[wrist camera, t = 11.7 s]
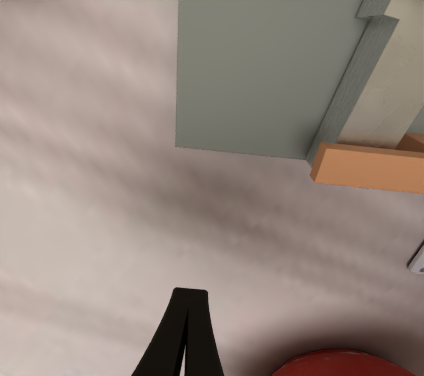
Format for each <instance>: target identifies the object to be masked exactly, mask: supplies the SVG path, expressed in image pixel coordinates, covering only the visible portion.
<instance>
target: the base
mask: <svg viewBox="0 0 424 376" xmlns="http://www.w3.org/2000/svg"><path fill="white" fill-rule="evenodd" d="M362 3H363V0H179V12H178V56H177V100H176V143H175V147H184V148H193V149H203V150H213V151H223V152H232V153H242V154H252V155H262V156H271V157H281V158H291V159H301V160H306V159H305V157H306V155H307V153H308V151H309V149H310V147H311V145H312V142H313V140H314V138H315V136H316V134H317V132H318V130H319V128H320V125H321V123H322V121H323V119H324V117H325V115H326V113H327V111H328V108H329V106H330V104H331V102H332V100H333V98H334V96H335V94H336V91H337V89H338V87H339V85H340V83H341V81H342V79H343V77H344V74H345V72H346V70H347V68H348V66H349V64H350V62H351V60H352V57H353V55H354V53H355V51H356V49H357V47H358V45H359V43H360V40H361V38H362V36H363V34H364V32H365V30H366V28H367V26H368V23H369V21H366V20H363V19H359V18H356V16H357V14H358V12H359V10H360V7H361V5H362ZM406 133H416V134H424V105H423V107H422V108H421V110H420V111H419V113H418V114H417V116H416V117H415V119H414V120H413V122H412V123H411V125H410V127H409V128H408V130H407V131H406Z"/></svg>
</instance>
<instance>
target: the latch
mask: <svg viewBox="0 0 424 376" xmlns="http://www.w3.org/2000/svg"><path fill="white" fill-rule="evenodd" d="M356 18H359V19H363V20H366V21H369V23H368V26H367V28H366V30H365V32H364V34H363V36H362V38H361V40H360V43H359V45H358V47H357V49H356V51H355V53H354V55H353V57H352V60H351V62H350V64H349V66H348V68H347V70H346V72H345V74H344V77H343V79H342V81H341V83H340V85H339V87H338V89H337V91H336V94H335V96H334V98H333V100H332V102H331V104H330V106H329V108H328V111H327V113H326V115H325V117H324V119H323V121H322V123H321V125H320V128H319V130H318V132H317V134H316V136H315V138H314V140H313V142H312V145H311V147H310V149H309V151H308V153H307V155H306V157H305V159H306V160H307V162H308V163H309V165H310V166H311V168H312V167H313V164H314V161H315V158H316V155H317V152H318V149H319V146H320V143H321V142H325V143H335V144H344V145H354V146H364V147H373V148H383V149H393V150H394V149H395V148H396V146H397V145H398V143H399V142H400V140H401V139H402V137H403V136H404V134H405V133H406V131H407V130H408V128H409V127H410V125H411V123H412V122H413V120H414V119H415V117H416V116H417V114H418V113H419V111H420V110H421V108H422V107H423V105H424V0H363V3H362V5H361V7H360V10H359V12H358V14H357V16H356ZM360 188H362V187H360ZM365 189H369V188H365Z"/></svg>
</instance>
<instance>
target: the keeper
mask: <svg viewBox="0 0 424 376" xmlns="http://www.w3.org/2000/svg"><path fill="white" fill-rule="evenodd" d="M310 176H311V178H312V179H313V181H314V183H322V184H332V185H342V186H352V187H362V188H372V189H382V190H392V191H402V192H412V193H422V194H424V134H416V133H405V134H404V136H403V137H402V139H401V140H400V142H399V143H398V145H397V146H396V148H395V149H394V150H393V149H383V148H373V147H364V146H354V145H344V144H335V143H325V142H321V143H320V146H319V149H318V152H317V155H316V158H315V161H314V164H313V167H312V170H311V173H310Z"/></svg>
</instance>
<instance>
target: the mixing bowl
mask: <svg viewBox="0 0 424 376" xmlns="http://www.w3.org/2000/svg"><path fill="white" fill-rule="evenodd" d="M271 376H415V375H414V374H412V373H411V372H409V371H407V370H406V369H404V368H402V367H400V366H398V365H396V364H394V363H392V362H390V361H387V360H385V359H381V358H378V357H375V356H372V355H370V354H367V353H364V352H361V351H356V350H349V349H328V350H320V351H314V352H309V353H307V354H303V355H300V356H298V357H296V358H293V359H291V360H289V361H288V362H286V363H285V364H284V365H283V366H282V367H281V368H280V369H279V370H277V371H276V372H274V373H273V374H272V375H271Z"/></svg>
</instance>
